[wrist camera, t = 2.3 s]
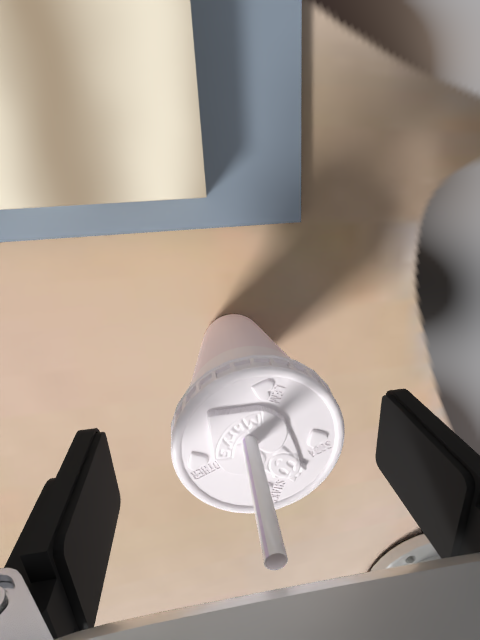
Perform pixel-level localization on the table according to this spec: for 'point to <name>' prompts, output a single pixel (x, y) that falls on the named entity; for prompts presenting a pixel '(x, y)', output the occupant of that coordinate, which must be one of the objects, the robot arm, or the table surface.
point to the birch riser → (98, 103)
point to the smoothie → (254, 428)
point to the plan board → (217, 133)
